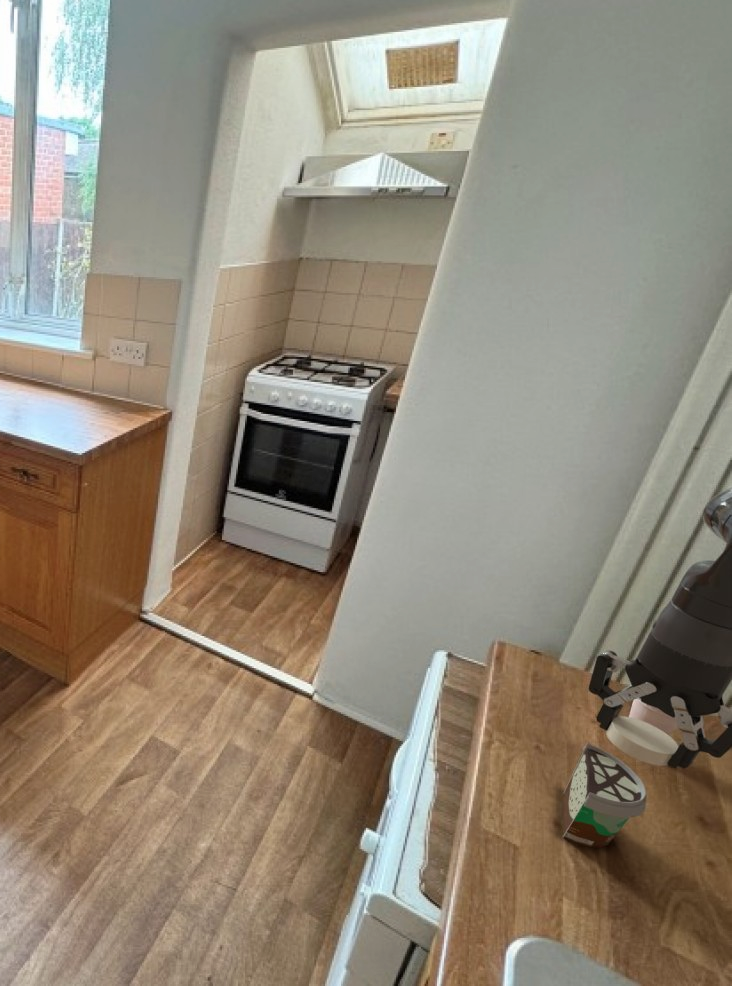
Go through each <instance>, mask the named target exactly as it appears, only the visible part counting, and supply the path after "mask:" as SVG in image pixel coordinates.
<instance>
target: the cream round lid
mask: <svg viewBox="0 0 732 986" xmlns="http://www.w3.org/2000/svg"><path fill="white" fill-rule="evenodd" d="M605 734H606V735H605V736H606V737H607V739H608V740H609V741H610V742H611V744H613V745H614V746H615V748H617V749H619V750H620V751H621V752H622V753H624V754H626V755H627V756H629V757H631V758H632V759H635V760H636V761H640V762H642V763H645V764H649V765H653V766H658V767H667V766H669V765H668V764H669V762H670V761H671V759H672V757H673V756H674V754H675V752H676V751H677V749H678V747H679V746H680V745H679V744H678V743H677V741H675V739H673V738H672V737H671V735H667V734H666V733H665V732H663V731H662V730H660V729H658V728H656V727H655V726H653V725H650V724H648V723H646V722H644V721H641V720H638V719H635V718H631V717H629V716H624V715H621V716H620V715H618V716H617V717H615V718H613V719H612V721H611V723H610V725H609V727H608V729H607V730H605Z"/></svg>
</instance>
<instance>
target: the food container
mask: <svg viewBox="0 0 732 986" xmlns="http://www.w3.org/2000/svg"><path fill="white" fill-rule="evenodd" d="M581 752H582V754H581V756H580V757H579V760H578V762H577V764H576V766H575V768H574V770H573V771H572V773H571V774H572V775H571V777H570V778H569V781H568V783H567V785H566V788H565V789H564V792H563V794H562V795H563V796H564V797H563V812H564V813H563V829H564V830H563V833H564V834H563V836H562V838H563V839H564V840H565V839H566V840H567V841H570V842H572V843H573V844H578V845H581V846H584V847H588V848H603V847H607V846H608V845H609V844H610V843H611V842H612V840H613V839H614V838H615V837H616V835H617V834H618V833H619V831H620V830H621V829H622V828H623V827H624V825H625V824H626V823H627V822H628V820H629V819H630V818H636V817H638V816H641V815H642V814H643V813H644V812H645V810H646V806H647V797H648V796H647V793H646V787H645V785H644V783H643V781H642V779H640V777H639V776H638V774H637V773H635V772H634V771H633V769H631V768H630V767H629V766H628V765H627V764H626V763H624V761H621V760H620V759H619V758H617V757H616V756H614V755H613V754H611V753H609V752H607V751H606V750H605V749H602V748H601V747H598V746H597V745H594V744H592V743H590V742H587V743H586V744H585V746H584V747H583V749H582V751H581Z"/></svg>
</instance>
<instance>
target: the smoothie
mask: <svg viewBox="0 0 732 986" xmlns="http://www.w3.org/2000/svg"><path fill="white" fill-rule="evenodd" d="M628 717H631V718H635V719H638V720H641V721H644V722H646V723H648V724H650V725H653V726H655V727H656V728H658V729H660V730H662V731H663V732H665V733H666V734H667V735H669V736H671V734H672V733H673V732H674V731H675V730H676V729H677V728H678V725H677V721H676V717H674V718H673V717H671V716H669V715H667V714H665V713H664V712H662V711H661V710H660V709H658V708H656V707H653V706H650V705H647V704H645V703H643V702H641V699H640V698H637V699H634V700H632V704H631V708H630V711H629V715H628Z"/></svg>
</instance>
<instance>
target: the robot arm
mask: <svg viewBox="0 0 732 986" xmlns="http://www.w3.org/2000/svg"><path fill="white" fill-rule="evenodd" d="M702 520H703V523H704V524H705V525H706V527H707V528H708V530H710V531H711V532H712V533H713V534H714V535H715V536H717V537H718V538H719V539H720V540H722V542H724V543H725V547H724V549H723V551H722V553H720V555H719V556H718V557H717V558H716V560H701V561H697V562H695V563H693V564H692V565H690V566H689V567H688V569H687V570H686V571H685V573H684V575H683V576H682V578H681V579H680V582H679V583H678V585H677V587H676V589H675V591H674V593H673V594H672V596H671V598H670V600H669V601H668V603H667V604H666V605H665V607H664V608H662V610H661V611H660V612H659V615H658V617H657V618H656V619H655V620H654V621H653V623H652V626H651V630H650V632H649V633H648V635H647V637H646V639H645V641H644V643H643V645H642V647H641V648H640V650H639V652H638V654H637V656H636V658H634V659H632V660H628V659H625V658H622V657H620V656H618V654H617V653H616V652H615V651H614V650H606V651H604V652H602V653H601V654H599V655H597V657H596V660H595V663H594V667H593V669H592V674H591V677H590V681H589V685H588V691H589V692H590V693H591V694H593V695H597V696H598V697H599V698H600V699H601V700H602V703H603V704H602V705H601V707H600V709H599V711H598V713H597V715H596V717H595V718H596V722H597V723H598V724H599V723H600V724H599V725H598V727H599V728H600V729H602V730H604V731H607V729H608V727H609V725H610V723H611V721H612V719H613V718H615V717H618V716H620V715H619V714H620V713H621V711H622V709H623V707H624V705H623V704H625V703H629V702H633V700H634V699H637V698H640V699H641V702H643V703H645V704H647V705H650V706H653V707H656V708H658V709H660V710H661V711H662V712H664V713H665V714H667V715H669V716H671V717H673V718H674V717H676V721H677V725H678V726H677V729H678V730H679V731H680V733H681V737H682V742H681V743H680V744H679V745H678V746H679V747H678V749H677V751H676V752H675V754H674V756H673V757H672V759H671V761H670V762H669V764H668V765H667V766H669V767H670V768H672V769H674V770H677V769H679V768H681V769H683V770H685V769H687V768H689V767H690V766H691V765H692V764H693V763H694V761H695V760H696V758H697V756H698V754H699V753H700V752H701V753H707V754H708V755H710V756H711V757H713V758H716V759H720V758H722V757H723V756H724V755H725V754H727V752H728V751H730V750H731V749H732V709H731V708H729V707H728V706H725V704H724V703H725V702H724V700H723V696H724V694H725V692H726V691H727V689H728V687H729V685H730V684H731V682H732V487H729V488H727V489H725V490H723V491H721V492H719V493H718V494H716V495H715V496H713V497H712V498H711V499H710V500H709V501H708V502H707V503H706V504H705V506H704V507H703V510H702ZM621 669H622V670H625V673H626V676H627V678H628V681H629V682H630V685H628V686H626V687H624V688H622V689H619V690H616V691H614V689H612V688H611V687H610V684H611V680H612V677H613V673H617V672H619V671H620V670H621ZM714 714H715V715H716V714H717V715H718V716H719V717H720V721H719V724H720V725H721V727H722V728H724V729H725V730H724V731H723V732H722V733H721V734H720V735H719V736H718V737H717V738H716V739H715V740H714V739H710V738H706V733H705V730H704V725H705V724H704V723H705V721H704V717H703V716H709V715H714Z"/></svg>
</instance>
